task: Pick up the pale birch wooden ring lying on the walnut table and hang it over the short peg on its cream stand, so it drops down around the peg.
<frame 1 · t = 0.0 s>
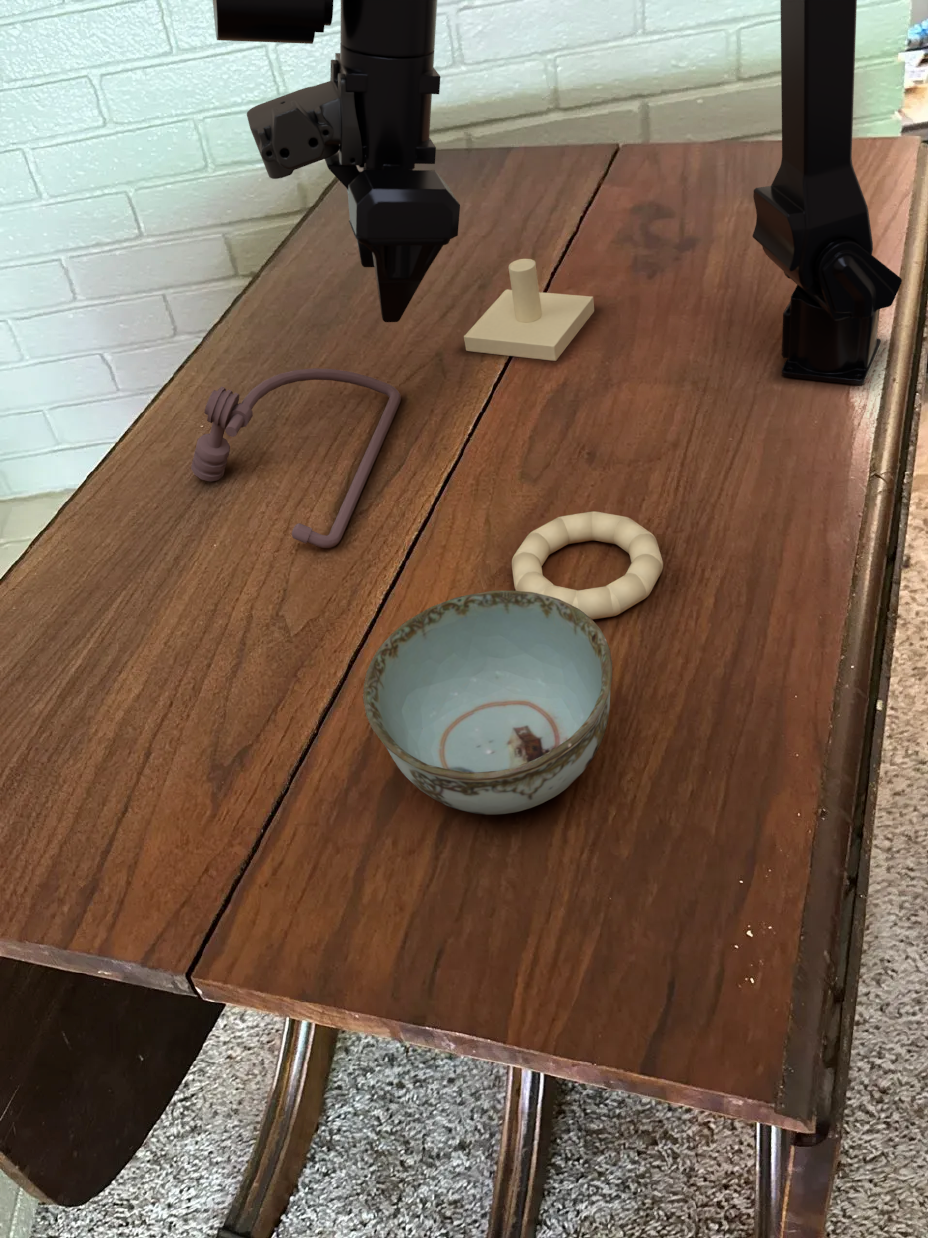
hand: (379, 292, 76), 15 cm above the table, tool pointing down, fingers open, 9 cm apart
peg stand: (530, 330, 100), on the table
bowl: (507, 770, 63), on the table
toilet paper hanger: (285, 472, 90), on the table
ring: (586, 564, 73), point 1 cm above the table
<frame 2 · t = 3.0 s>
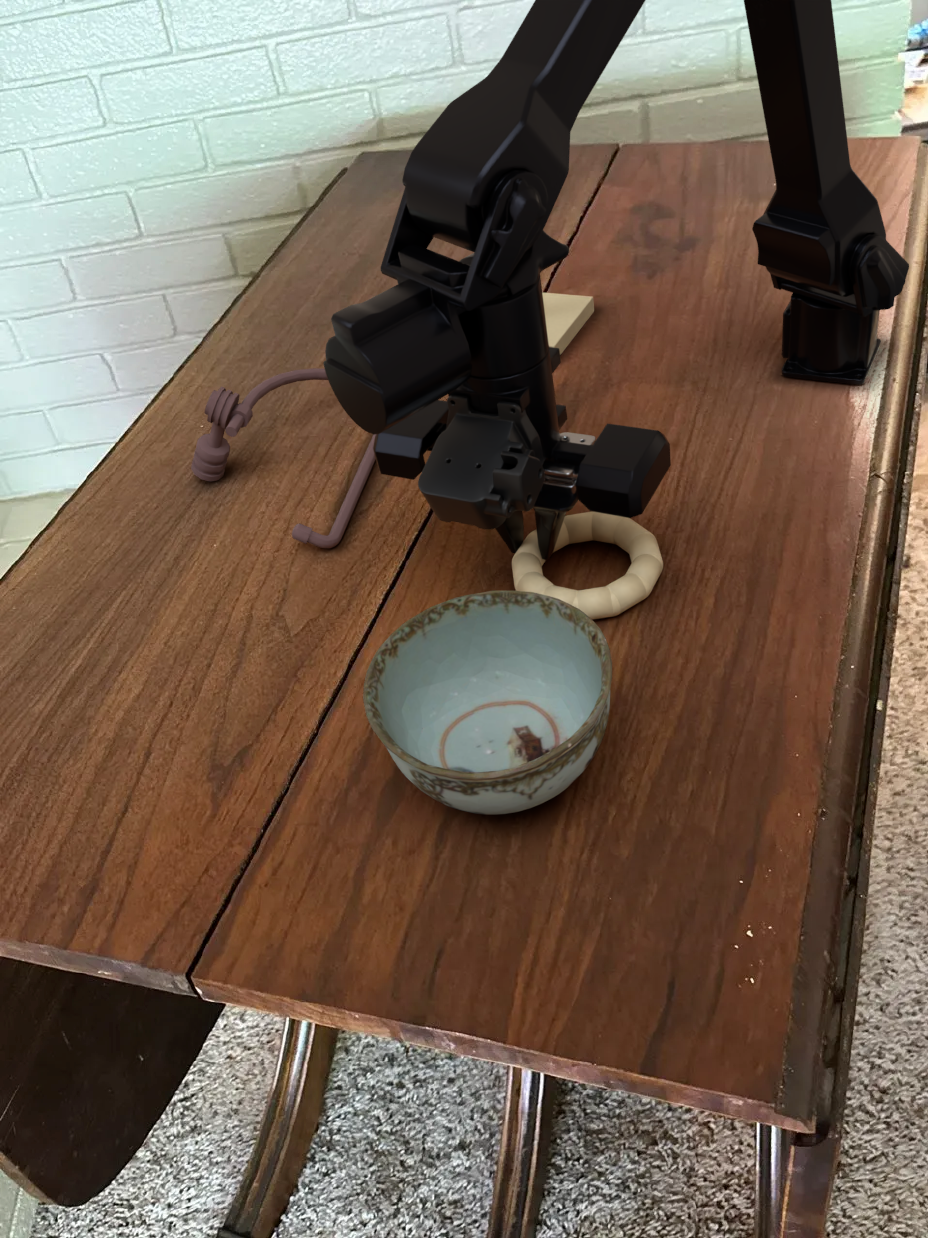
hand: (532, 553, 75), 1 cm above the table, tool pointing down, fingers closed on ring, 2 cm apart
ring: (586, 564, 73), point 1 cm above the table, touching gripper
everything else where it was.
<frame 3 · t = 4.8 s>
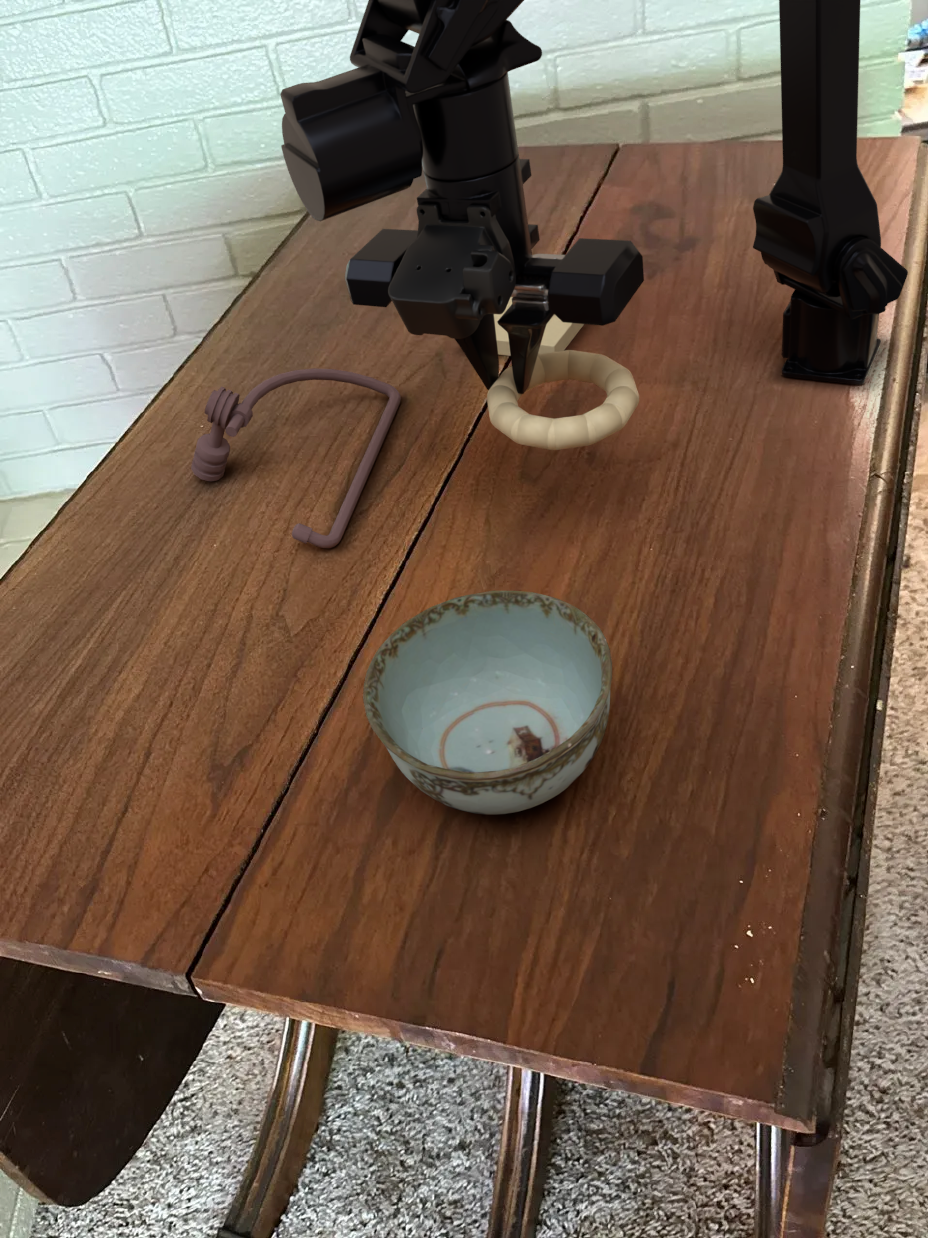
hand: (508, 389, 74), 10 cm above the table, tool pointing down, fingers closed on ring
ring: (562, 398, 73), point 10 cm above the table, touching gripper
everything else where it was.
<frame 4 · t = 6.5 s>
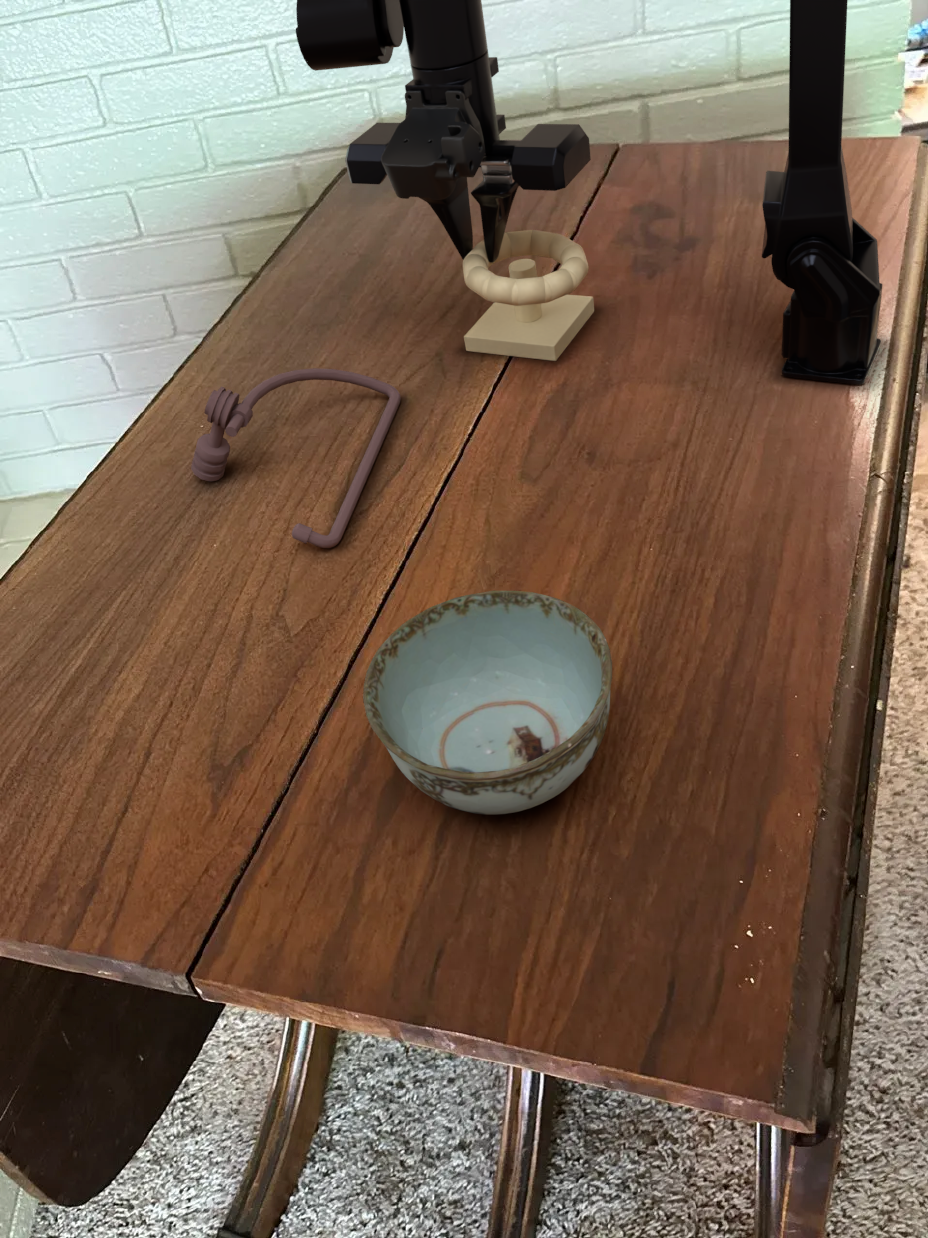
hand: (480, 259, 89), 10 cm above the table, tool pointing down, fingers closed on ring
ring: (524, 266, 88), point 10 cm above the table, tilted 6°, touching gripper
everything else where it was.
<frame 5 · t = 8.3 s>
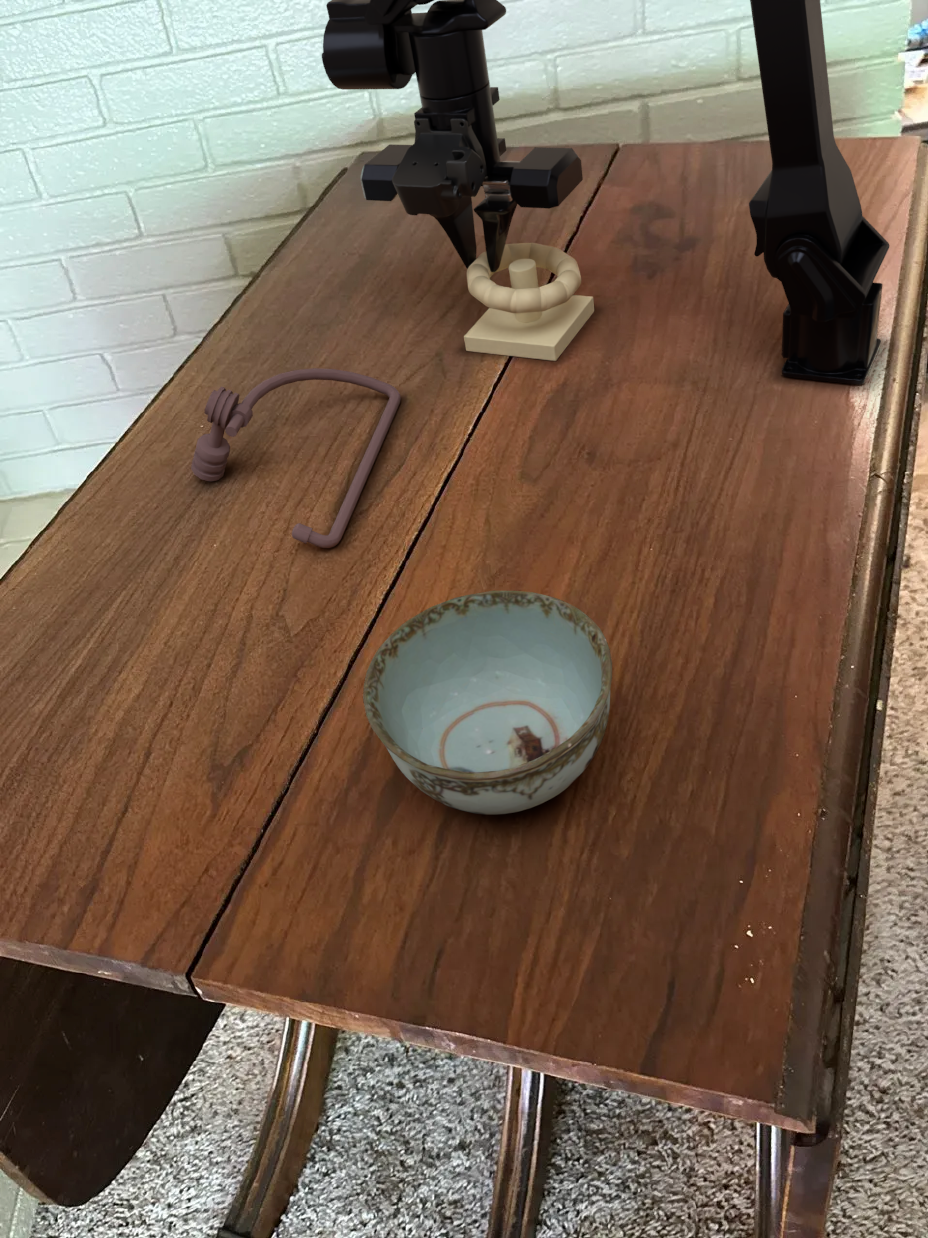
hand: (483, 269, 97), 6 cm above the table, tool pointing down, fingers closed on ring, 2 cm apart
ring: (523, 276, 96), point 5 cm above the table, tilted 8°, touching gripper
everything else where it was.
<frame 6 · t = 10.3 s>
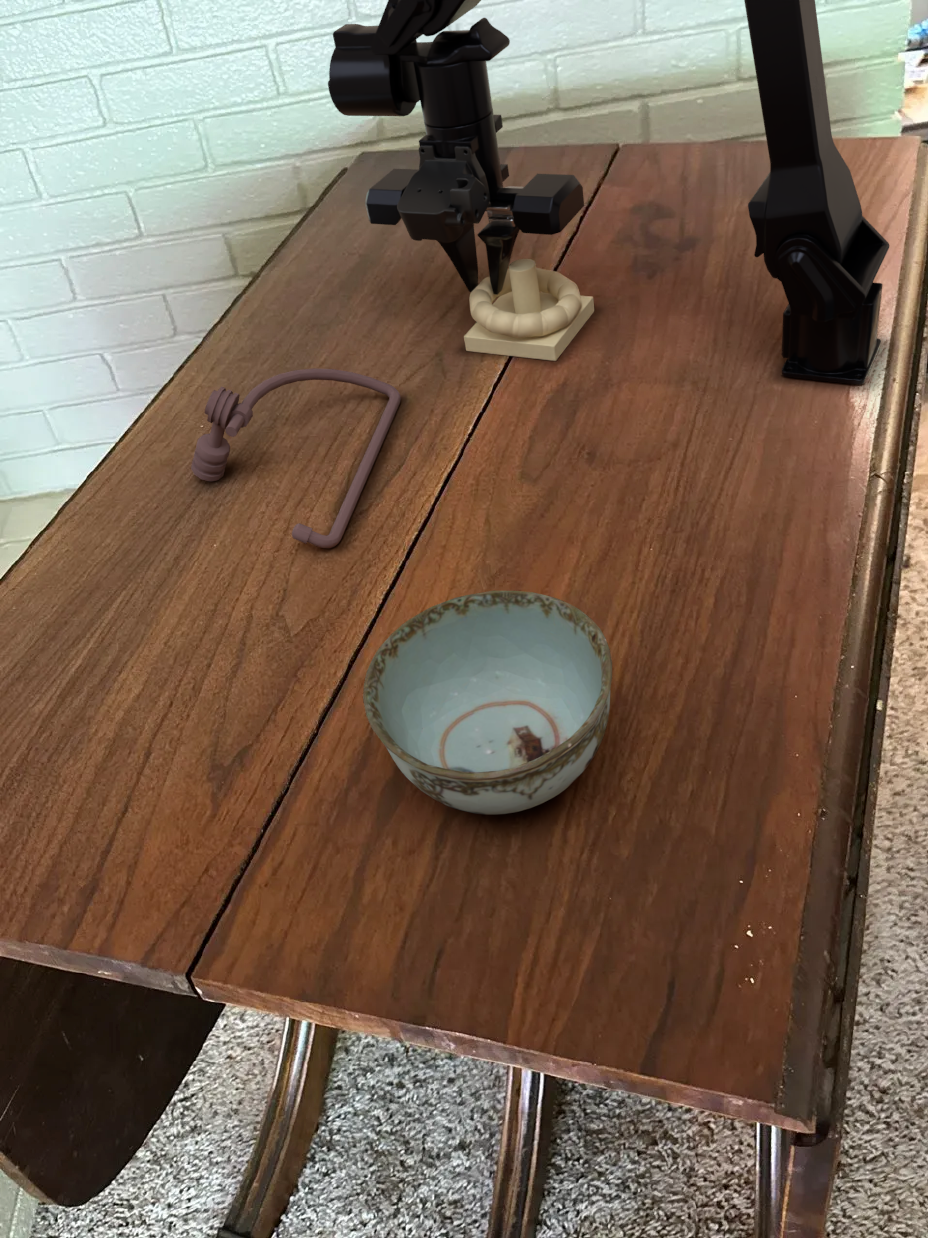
hand: (485, 291, 99), 4 cm above the table, tool pointing down, fingers closed
ring: (525, 301, 98), point 3 cm above the table, tilted 7°, touching peg stand
everything else where it was.
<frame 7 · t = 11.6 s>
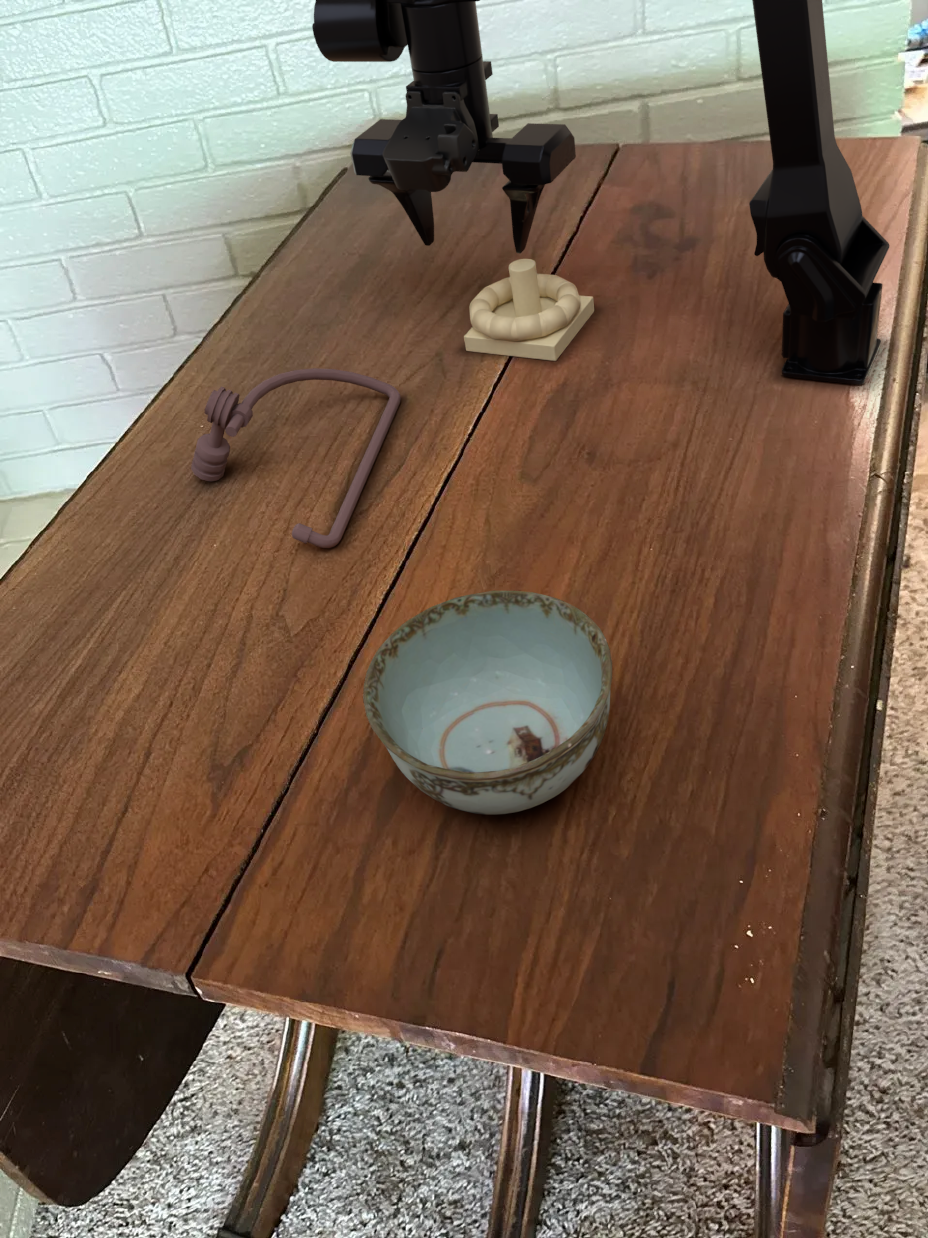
hand: (474, 247, 96), 8 cm above the table, tool pointing down, fingers open, 9 cm apart
ring: (524, 306, 98), point 2 cm above the table, touching peg stand
everything else where it was.
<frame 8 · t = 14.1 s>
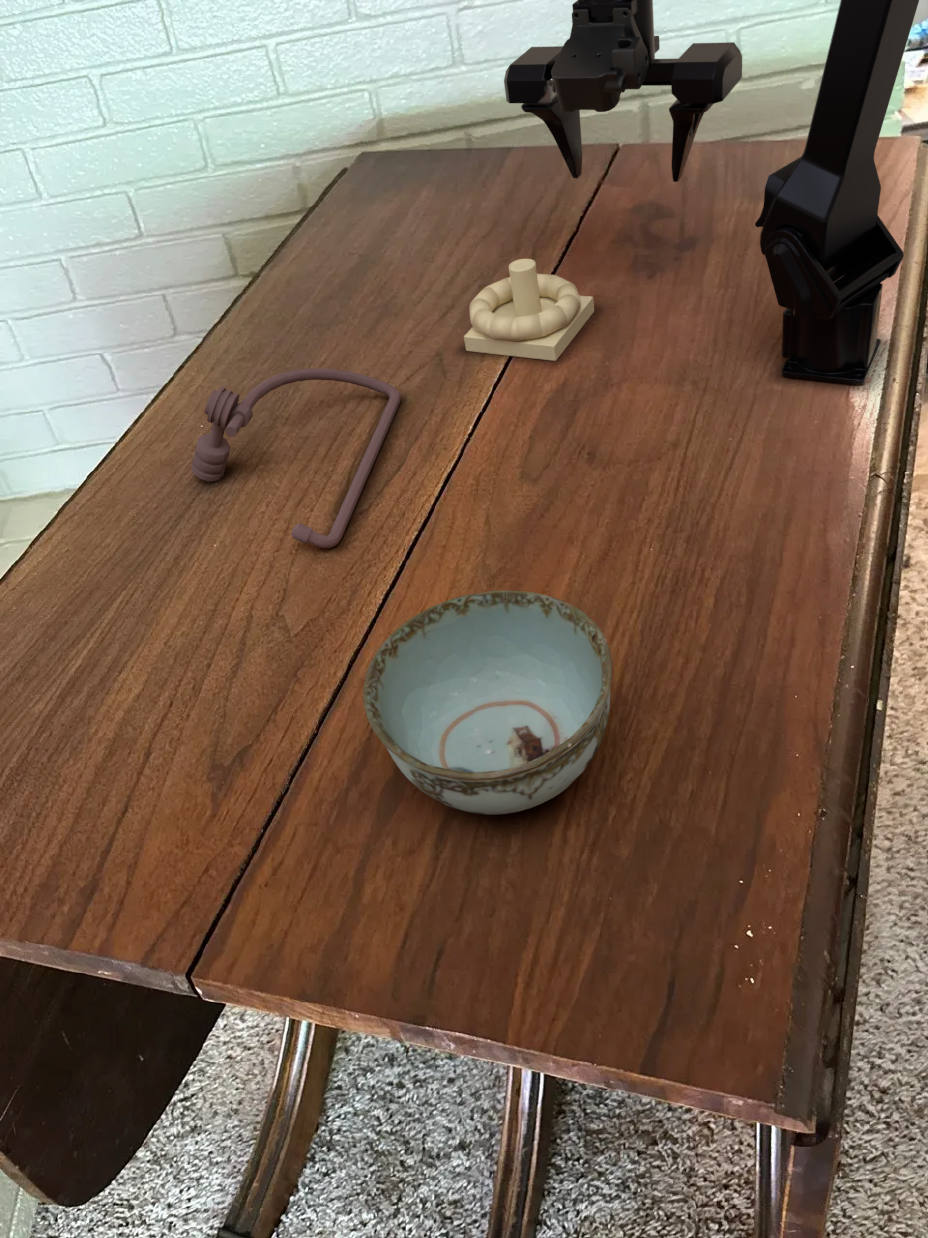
hand: (626, 178, 94), 11 cm above the table, tool pointing down, fingers open, 9 cm apart
nothing on the table moved.
at the end: ring 0.3 cm from the peg stand (horizontally); ring point 2.5 cm above the table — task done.
